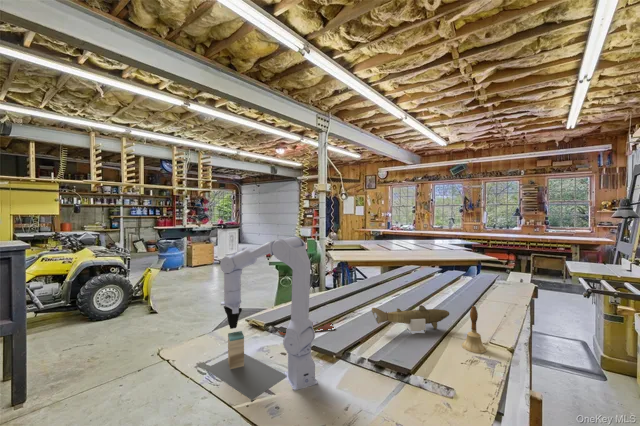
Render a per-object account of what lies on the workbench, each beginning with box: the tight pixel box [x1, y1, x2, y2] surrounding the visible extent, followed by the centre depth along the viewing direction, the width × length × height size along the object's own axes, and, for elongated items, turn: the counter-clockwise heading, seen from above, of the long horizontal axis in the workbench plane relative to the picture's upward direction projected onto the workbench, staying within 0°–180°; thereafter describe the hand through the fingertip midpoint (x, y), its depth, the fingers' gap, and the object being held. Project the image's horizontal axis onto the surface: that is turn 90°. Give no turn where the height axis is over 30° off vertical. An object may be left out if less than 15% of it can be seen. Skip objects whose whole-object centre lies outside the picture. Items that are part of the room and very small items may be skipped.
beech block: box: [227, 330, 245, 369], centre depth 96 cm, size 4×4×10 cm
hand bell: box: [461, 305, 487, 354], centre depth 109 cm, size 8×8×16 cm
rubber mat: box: [204, 353, 287, 403], centre depth 92 cm, size 24×14×1 cm, turn 52°
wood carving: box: [371, 304, 450, 331], centre depth 123 cm, size 9×35×11 cm, turn 98°
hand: (232, 326), depth 103 cm, fingers closed
